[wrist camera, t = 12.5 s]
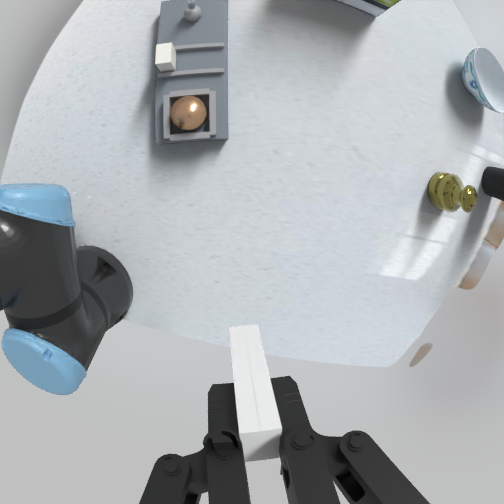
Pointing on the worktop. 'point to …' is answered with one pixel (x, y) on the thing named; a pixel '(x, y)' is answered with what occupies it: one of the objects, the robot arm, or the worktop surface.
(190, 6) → the toggle lever
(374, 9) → the tea box
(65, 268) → the robot arm
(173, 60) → the white slider block
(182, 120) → the push button
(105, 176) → the worktop surface
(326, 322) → the worktop surface
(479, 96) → the chinaware
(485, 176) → the travel mug
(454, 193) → the gold chess piece
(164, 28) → the control panel
